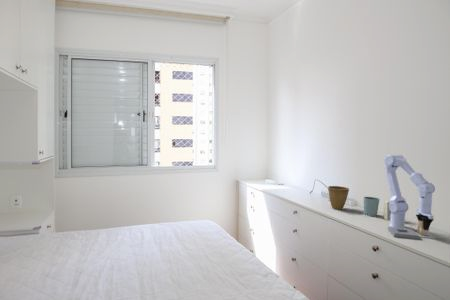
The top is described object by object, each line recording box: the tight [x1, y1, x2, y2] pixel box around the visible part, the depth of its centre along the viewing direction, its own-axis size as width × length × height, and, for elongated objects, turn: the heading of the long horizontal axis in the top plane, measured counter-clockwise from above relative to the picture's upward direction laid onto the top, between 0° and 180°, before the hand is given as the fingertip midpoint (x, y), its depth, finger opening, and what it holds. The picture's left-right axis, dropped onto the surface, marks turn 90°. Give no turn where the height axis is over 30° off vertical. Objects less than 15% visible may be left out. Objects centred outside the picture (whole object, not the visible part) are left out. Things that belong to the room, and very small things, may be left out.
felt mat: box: [414, 231, 436, 240], centre depth 179 cm, size 9×9×1 cm
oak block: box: [416, 220, 430, 235], centre depth 179 cm, size 4×4×7 cm
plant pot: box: [327, 185, 350, 211], centre depth 241 cm, size 15×15×16 cm
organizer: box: [387, 226, 420, 240], centre depth 180 cm, size 14×12×2 cm
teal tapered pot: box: [363, 196, 380, 217], centre depth 224 cm, size 10×10×12 cm
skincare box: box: [383, 200, 392, 221], centre depth 213 cm, size 6×4×12 cm
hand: (423, 228), depth 179 cm, fingers closed on oak block, 4 cm apart
